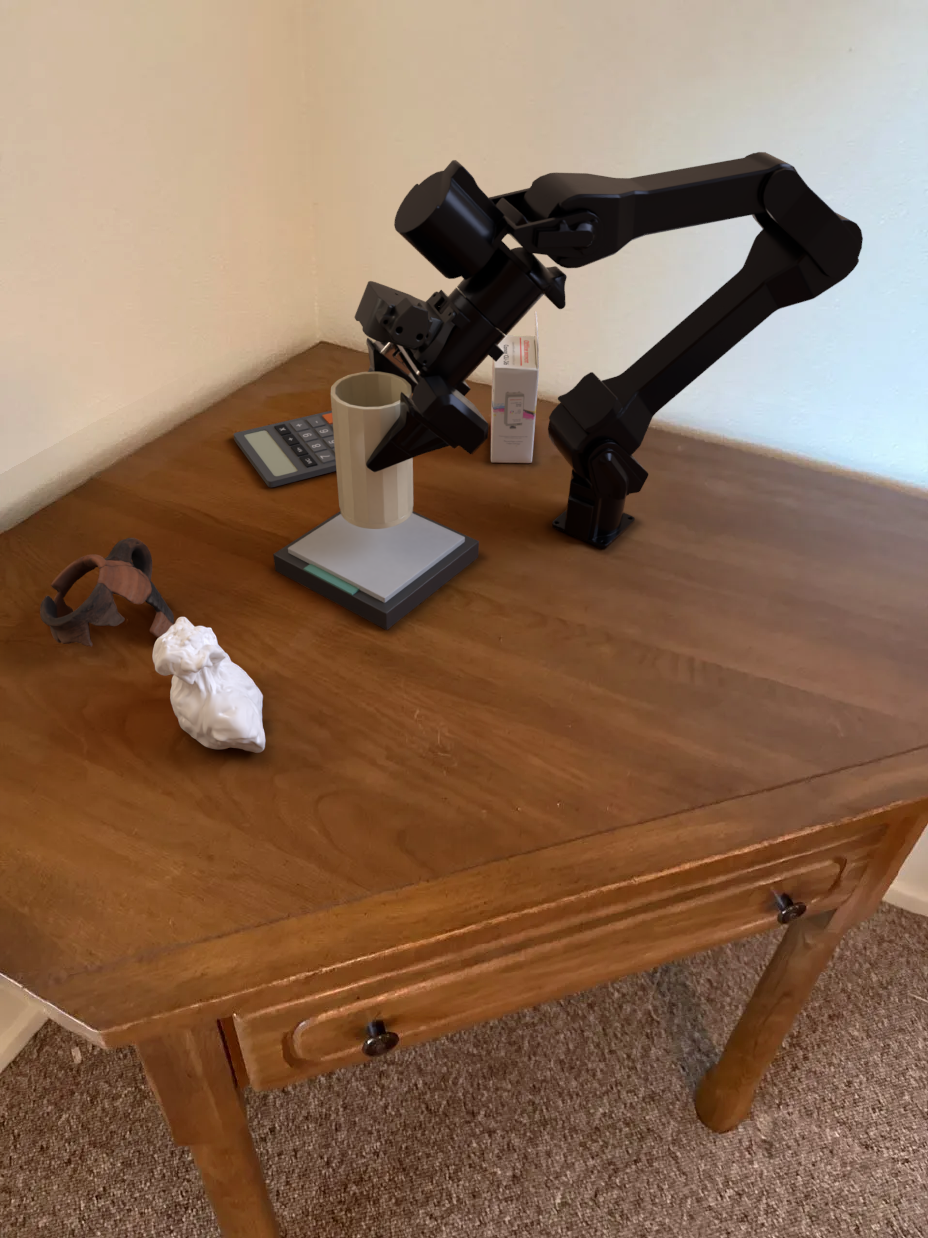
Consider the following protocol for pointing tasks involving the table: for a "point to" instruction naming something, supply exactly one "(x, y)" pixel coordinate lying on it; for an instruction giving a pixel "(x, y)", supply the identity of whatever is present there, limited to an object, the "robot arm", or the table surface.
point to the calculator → (291, 449)
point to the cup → (369, 450)
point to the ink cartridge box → (515, 399)
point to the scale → (377, 564)
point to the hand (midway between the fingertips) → (359, 447)
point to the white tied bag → (209, 689)
